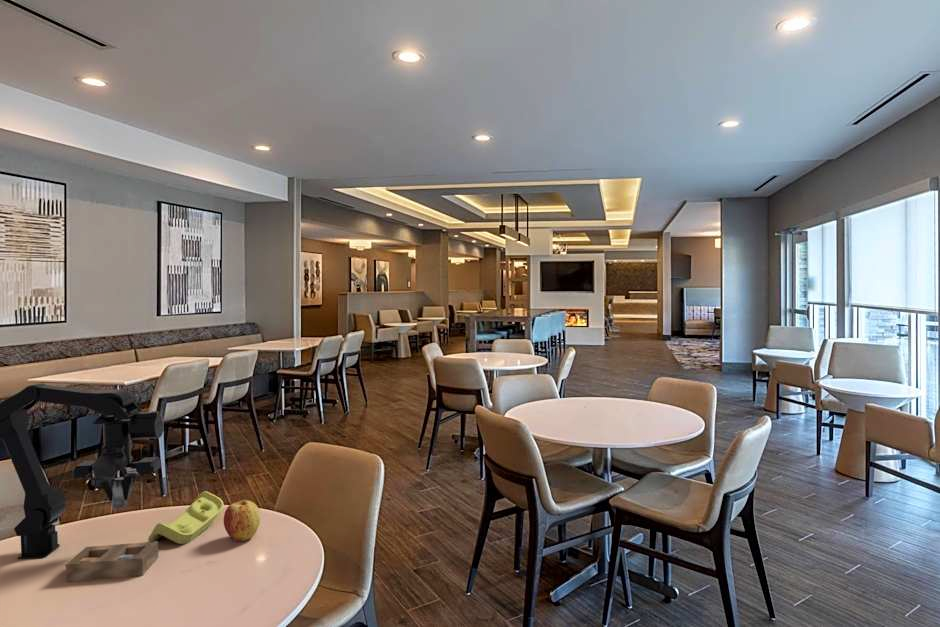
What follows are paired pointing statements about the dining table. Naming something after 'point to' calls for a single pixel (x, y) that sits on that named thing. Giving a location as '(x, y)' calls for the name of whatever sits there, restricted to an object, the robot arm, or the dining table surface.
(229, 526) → the apple
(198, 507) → the plastic component
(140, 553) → the board
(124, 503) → the plug
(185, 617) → the dining table surface
